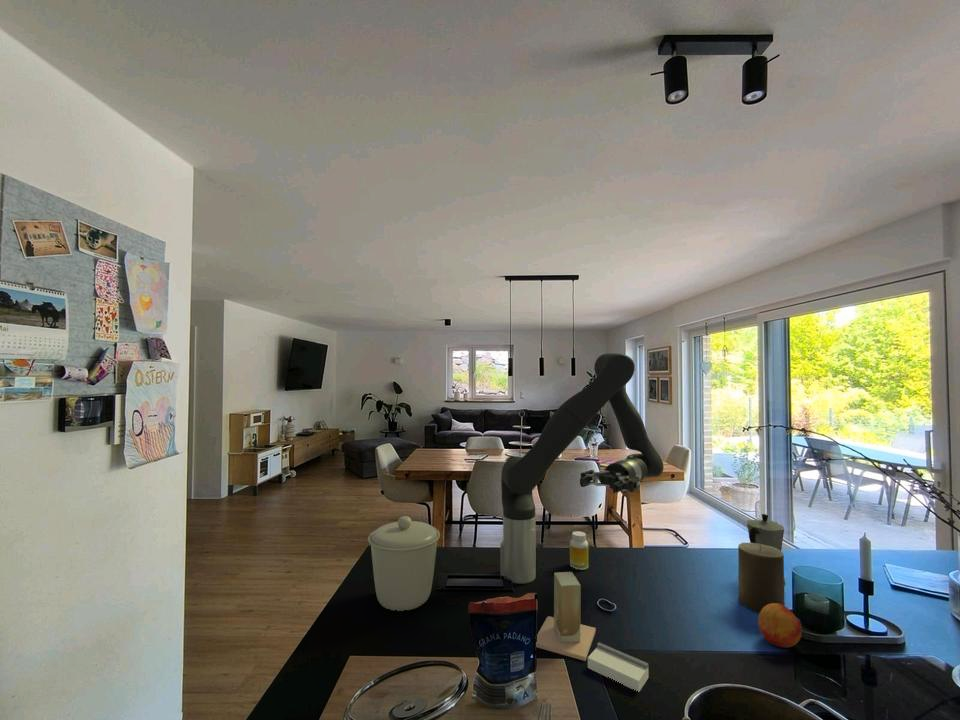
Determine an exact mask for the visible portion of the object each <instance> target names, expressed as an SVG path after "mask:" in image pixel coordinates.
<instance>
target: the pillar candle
mask: <svg viewBox="0 0 960 720" xmlns="http://www.w3.org/2000/svg"><path fill="white" fill-rule="evenodd" d="M737 546H738V547H737V548H738V549H737V550H738V553H737V554H738V562H737V563H738V577H737V578H738V588H737V589H738V591H737V592H738V594H737V595H738V600H739V602H740V603H741V604H742V606H744V607H745V608H747V609H749V610H751V611H753V612H757V613H759V614H760V612H761V610H762V609H763V607H764V606H766V605H768V604H771V603H779V604H782V605H784V606H786V605H785V604H786V603H785V601H786V600H785V584H784V579H785V561H784V559H785V558H784V553H783V551H782V550H781V551H780V550H778V549H777V548H774V547H771V546H767V545H763V544H758V543H750V542H741V543H739V544H738V545H737Z"/></svg>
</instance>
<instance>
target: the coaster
mask: <svg viewBox="0 0 960 720" xmlns="http://www.w3.org/2000/svg"><path fill="white" fill-rule="evenodd" d="M595 635H596V627H593V626H588V625H585V624H582V623H580V642H574V643H561V641H560V639H559V637H558V635H557V633H556V630H555V628H554V616H549V615H547V617H546V618H545V620H544V622H543V624H542V625H541V627H540V629H539V630H538V633H537V634H536V636H537V642H536V647H535V648H537V649H542V650H546V651H549V652H552V653H556V654H559V655H563V656H567V657H570V658H573V659H577V660H580V661H583V662H586V660H587V659H588V654H589V652H590V649H591V646H592V643H593V640H594V637H595Z"/></svg>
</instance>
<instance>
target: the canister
mask: <svg viewBox="0 0 960 720" xmlns="http://www.w3.org/2000/svg"><path fill="white" fill-rule="evenodd" d="M440 536H441V533H440V531H439V529H437V528H436V527H434V526H432V524H431V525H430V524H429V523H426V522H423V521H415V520H412V518H411V517H409V516H408V515H403V516H400V517H398V520H397V521H395V522H389V523H387V524H384V525H381V526H379V527H378V528H376V529H375V530H373V531H372V532H371V533H370V534H369V535H368V537H367V541H368V543H369V545H370V549H371V560H372V571H373V581H374V587H375V588H374V589H375V593H376V598H377V601H378V602H379V604H380V605H381V607H383V608H385V609H387V610H388V609H390V610H389V611H395V610H397V611H395V612H405V611H404V610H407V611H411V610H414V609H417V608H419V606H420V607H421V606H423V605H424V604H425V603H426V602H427V600H428V599H429V597H430V595H431V592H432V587H433V580H434V573H435V564H436V556H437V545H438V541H439V539H440ZM422 604H423V605H422Z"/></svg>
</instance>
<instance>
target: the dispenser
mask: <svg viewBox="0 0 960 720" xmlns="http://www.w3.org/2000/svg"><path fill="white" fill-rule="evenodd" d="M587 668H588V669H589V670H592V671H593V672H596V673H598V674H599V675H601V676H604V677H606V678H608V677H609V678H608V679H610V678H611V679H610V680H612V679H613V680H612V681H614V680H615V681H614V682H616V681H617V683H618V682H619V684H620V683H621V685H622V684H623V685H622V686H625V687H626V688H628V689H631V690H633V689H634V690H633V691H635V690H636V691H635V692H637V691H638V692H637V693H640V692H641V690H642V689H643V687H644V686H645V684H646V682H647V681H648V679H649V677H650V676H649V663H648V662H646V661H644V660H641V659H639V658H637V657H635V656H632V655H629V654H627V653H624V652H622V651H621V650H617V649H615V648H613V647H611V646H609V645H606V644H603V643H602V642H597V643H596V647H595V649H594V650H593V651H592V652H591V653H590V654H589V656H587Z"/></svg>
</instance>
